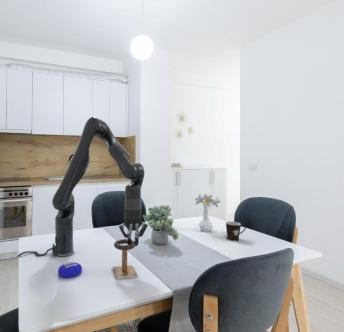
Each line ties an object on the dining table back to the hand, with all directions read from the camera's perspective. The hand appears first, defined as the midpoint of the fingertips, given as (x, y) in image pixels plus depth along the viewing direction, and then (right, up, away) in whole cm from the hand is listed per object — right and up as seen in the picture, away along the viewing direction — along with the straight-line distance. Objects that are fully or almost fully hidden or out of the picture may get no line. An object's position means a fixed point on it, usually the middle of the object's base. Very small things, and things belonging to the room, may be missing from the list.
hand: (132, 245), depth 109 cm
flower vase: (+54, -9, +62) cm, 82 cm away
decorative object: (-28, -12, -2) cm, 31 cm away
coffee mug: (+66, -10, +43) cm, 79 cm away
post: (-4, -12, 0) cm, 13 cm away
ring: (-4, +1, -1) cm, 4 cm away
